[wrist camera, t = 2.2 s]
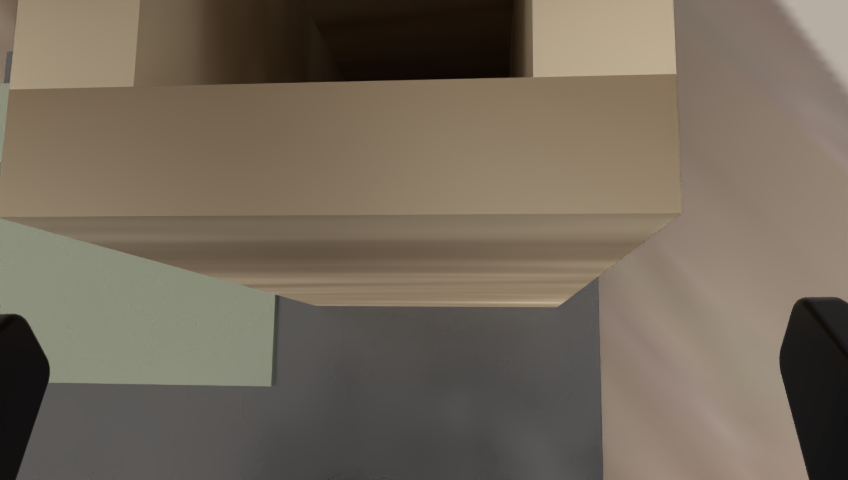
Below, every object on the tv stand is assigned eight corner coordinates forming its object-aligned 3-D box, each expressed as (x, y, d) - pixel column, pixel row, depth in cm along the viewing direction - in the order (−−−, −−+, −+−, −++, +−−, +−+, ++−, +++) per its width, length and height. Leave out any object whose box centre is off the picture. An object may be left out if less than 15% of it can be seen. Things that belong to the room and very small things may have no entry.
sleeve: (557, 307, 18) (681, 213, 6) (315, 305, 18) (-5, 217, 7) (553, 72, 19) (655, -409, 7) (323, 78, 19) (55, -358, 7)
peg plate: (600, 726, 18) (647, 890, 12) (-21, 689, 19) (-224, 820, 14) (584, 58, 20) (618, -50, 15) (40, 72, 22) (-110, -21, 16)
